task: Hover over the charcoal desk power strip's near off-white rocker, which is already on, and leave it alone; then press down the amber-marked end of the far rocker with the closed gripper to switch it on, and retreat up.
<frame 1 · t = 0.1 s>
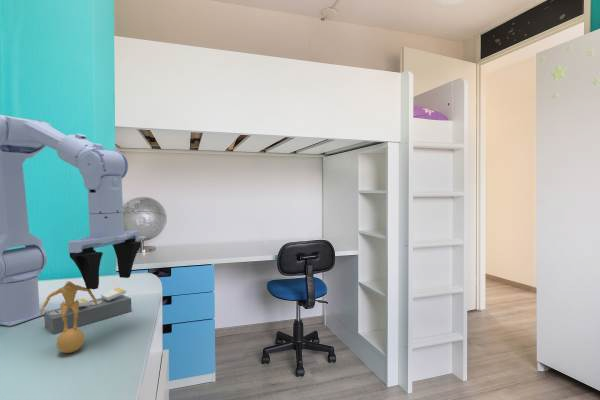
hand: (109, 282, 66), 10 cm above the table, fingers open, 7 cm apart
near rocker: (76, 303, 72), point 4 cm above the table, hinge at 10.0°
far rocker: (113, 294, 78), point 4 cm above the table, hinge at -10.0°
figurine: (71, 350, 60), on the table
power strip: (90, 318, 74), on the table
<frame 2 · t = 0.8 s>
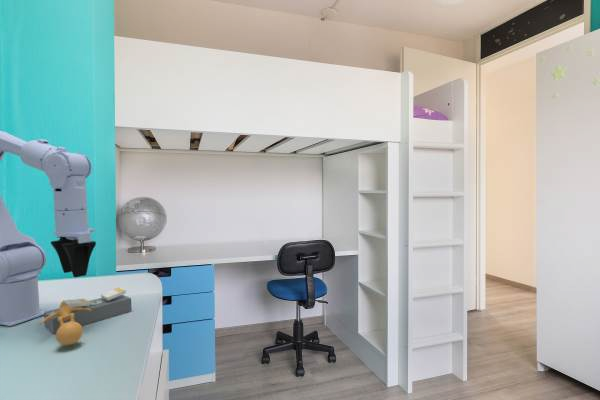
hand: (74, 273, 72), 10 cm above the table, fingers open, 6 cm apart
figurine: (72, 346, 60), point 1 cm above the table, touching power strip
everything else where it was.
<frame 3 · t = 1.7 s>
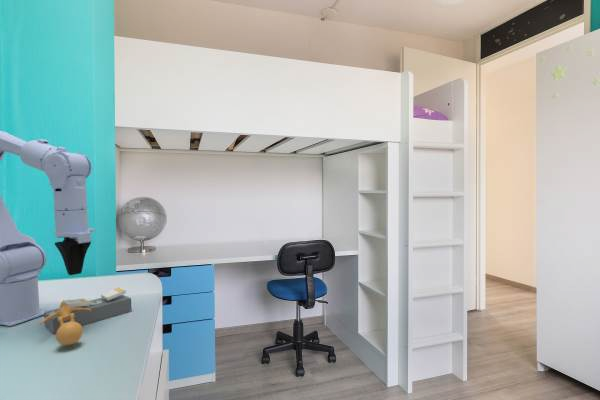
hand: (74, 273, 72), 10 cm above the table, fingers closed
nothing on the table moved.
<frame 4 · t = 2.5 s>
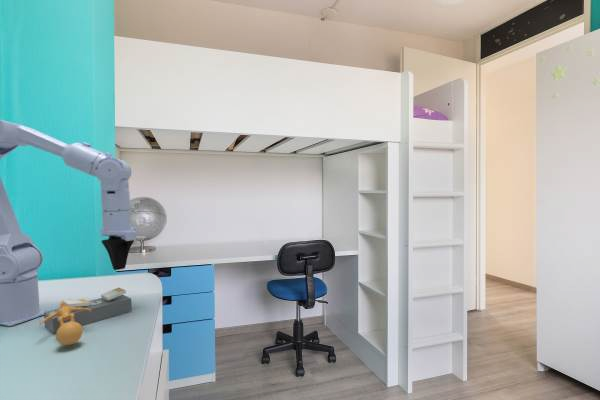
hand: (119, 268, 79), 10 cm above the table, fingers closed
nothing on the table moved.
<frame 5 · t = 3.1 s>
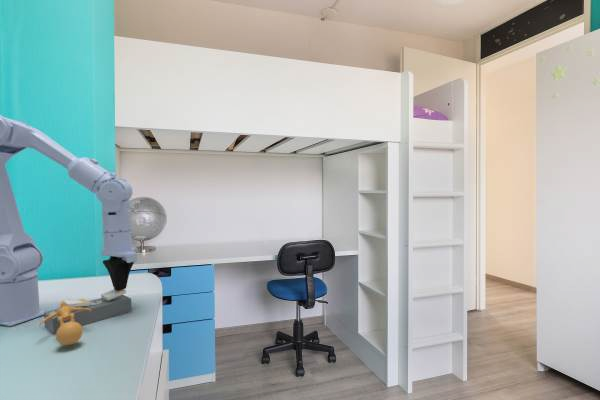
hand: (120, 289, 79), 5 cm above the table, fingers closed, pressing on far rocker
far rocker: (113, 294, 78), point 4 cm above the table, hinge at -10.0°, touching gripper
everything else where it was.
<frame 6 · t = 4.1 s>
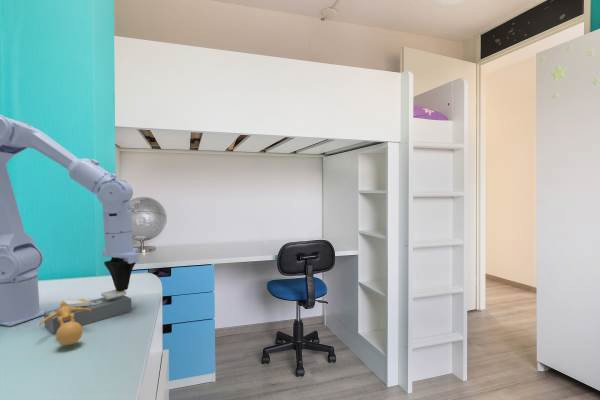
hand: (122, 290, 79), 5 cm above the table, fingers closed, pressing on far rocker
far rocker: (113, 294, 78), point 4 cm above the table, hinge at -0.5°, touching gripper
everything else where it was.
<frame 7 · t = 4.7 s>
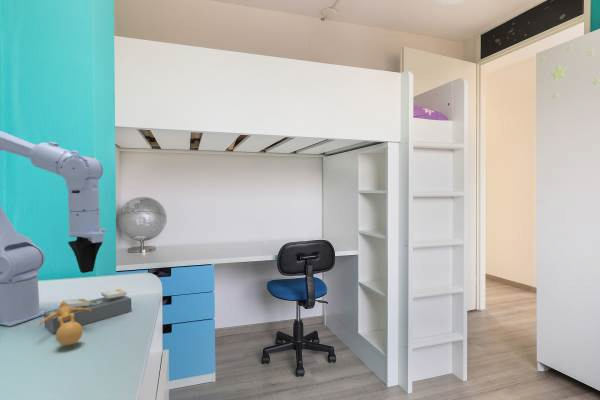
hand: (86, 271, 75), 10 cm above the table, fingers closed
far rocker: (113, 294, 78), point 4 cm above the table, hinge at 4.0°
everything else where it was.
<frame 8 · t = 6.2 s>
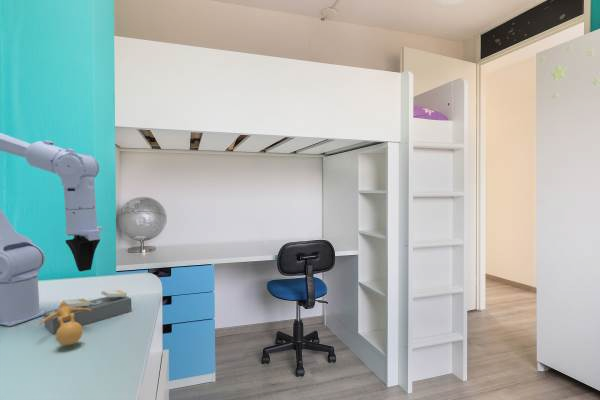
hand: (84, 270, 75), 10 cm above the table, fingers closed
far rocker: (114, 294, 78), point 4 cm above the table, hinge at 13.4°
everything else where it was.
at the end: far rocker at +13° (first picture: -10°); near rocker at +10° (first picture: +10°) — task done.
